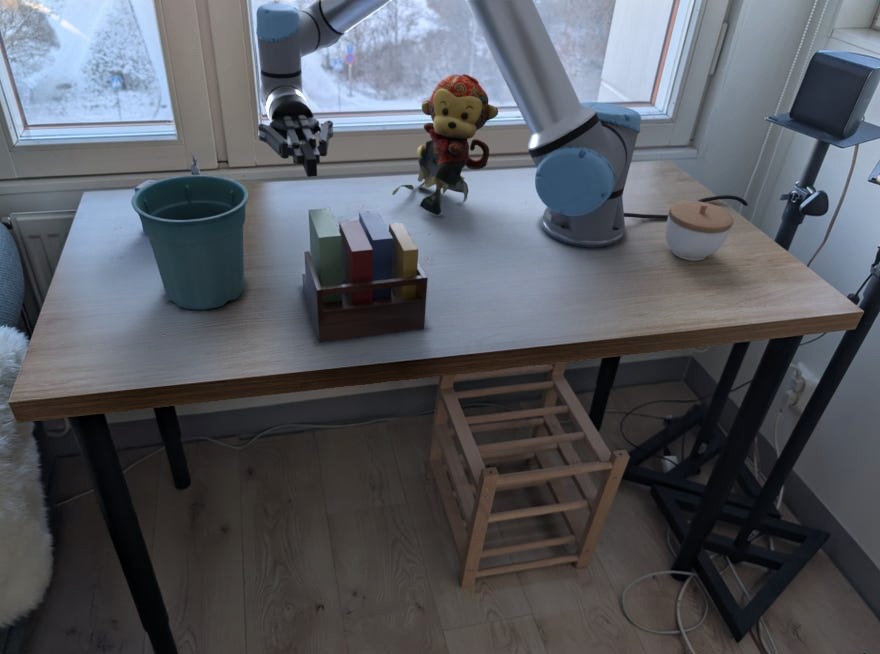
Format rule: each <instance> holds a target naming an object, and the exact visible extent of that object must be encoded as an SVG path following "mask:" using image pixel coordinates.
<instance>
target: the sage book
mask: <svg viewBox="0 0 880 654" xmlns="http://www.w3.org/2000/svg"><path fill="white" fill-rule="evenodd" d="M308 227H309V228H308V229H309V245H310V247H309V248H310V255H311V258H312V261H313V264H314V267H315V269H316V272H317V275H318V278H319V281H320V284H321V287H324V286H333V285H342V255H341V234H340V232H339V226H338V224H337V223H336V221H335V217H334V215H333V214H332V211H331V208H330V207H327V208H314V209H308ZM337 301H342V293H341V294H332V295H323V303H328V302H337Z"/></svg>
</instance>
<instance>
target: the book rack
mask: <svg viewBox="0 0 880 654" xmlns="http://www.w3.org/2000/svg"><path fill="white" fill-rule="evenodd" d="M303 255H304V271H305V272H304V273H302V274H301V275H302V277H301V278H302V289H303V292H304V296H305V300H306V302H307V306H308V310H309V313H310V316H311V320H312V323H313V326H314V330H315V333H316V336H317V340H318V343H320V344H321V343H328V342H335V341H343V340H349V339H356V338H364V337H365V338H366V337H373V336H381V335H388V334H394V333H402V332H411V331H417V330H424V329H425V322H426V308H427V307H426V306H427V293H428V279H429V278H428V275H427V274H426V273H425V272H426V271H425V270H424V269H423V267H422V266H421V264H420V262H419V261H418V267H417V276H413V277H404V278H395V279H386V280H377V281H368V282H360V283H351V284H342V285H333V286H324V287H321V284H320V281H319V278H318V275H317V272H316V269H315V267H314V264H313V261H312V258H311V251H309V250H308V251H304V252H303ZM410 285H416V298H410V299H401V300H398V298H397V296H396V294H395V292H394V290H393V288H392V287H401V286H410ZM384 288H391V297H383V298H375V299H372V303H368V304H360V305H351V306H349V304H348V301H347V299H346V296H345V293H349V292H358V291H366V290H375V289H384ZM341 293H342V301H337V302H328V303H323V295H332V294H341Z"/></svg>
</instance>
